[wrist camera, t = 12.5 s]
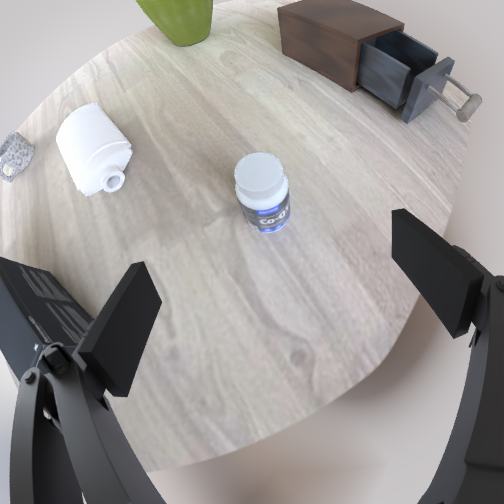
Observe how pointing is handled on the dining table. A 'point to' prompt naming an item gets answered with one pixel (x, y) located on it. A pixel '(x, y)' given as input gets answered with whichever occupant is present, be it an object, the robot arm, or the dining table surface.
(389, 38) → the drawer
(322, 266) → the dining table surface
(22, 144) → the mug
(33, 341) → the box
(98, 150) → the squeeze bottle
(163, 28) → the flower pot
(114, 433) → the robot arm
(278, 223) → the pill bottle
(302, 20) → the cabinet
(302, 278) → the dining table surface
